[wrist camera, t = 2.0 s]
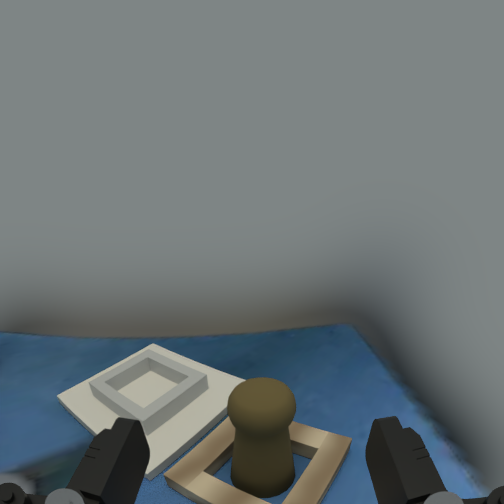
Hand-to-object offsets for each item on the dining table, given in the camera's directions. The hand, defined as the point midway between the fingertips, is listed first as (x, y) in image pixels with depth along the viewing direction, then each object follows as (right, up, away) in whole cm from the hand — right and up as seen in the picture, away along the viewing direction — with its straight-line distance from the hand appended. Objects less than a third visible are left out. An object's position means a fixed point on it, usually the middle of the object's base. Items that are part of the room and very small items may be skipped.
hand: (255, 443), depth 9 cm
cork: (+1, -14, +15) cm, 21 cm away
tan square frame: (+1, -14, +15) cm, 21 cm away
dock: (-12, -12, +26) cm, 31 cm away
